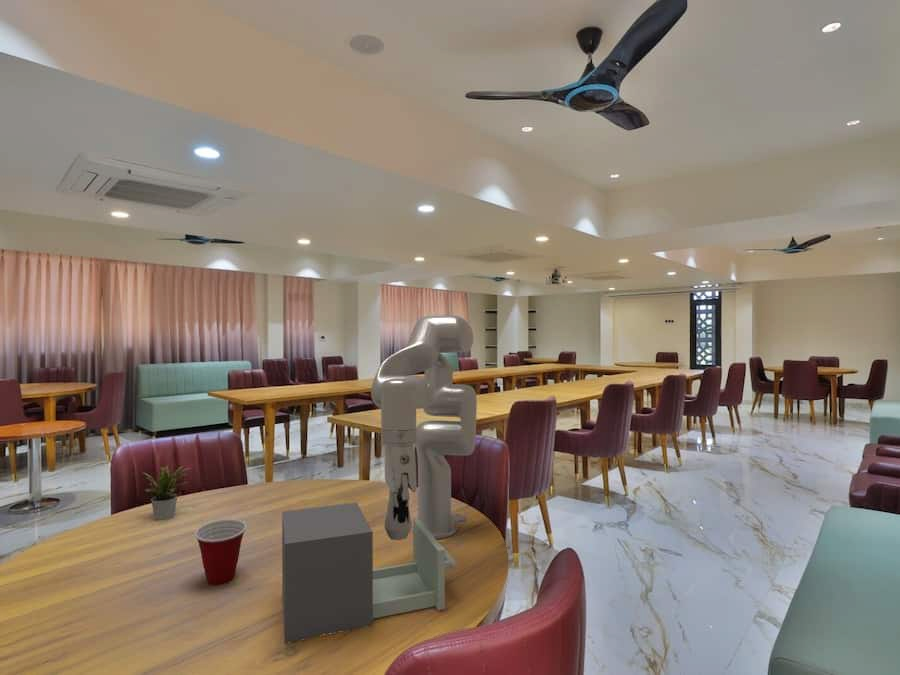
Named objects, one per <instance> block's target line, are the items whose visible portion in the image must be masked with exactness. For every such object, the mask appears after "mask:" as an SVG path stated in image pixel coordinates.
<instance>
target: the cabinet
mask: <svg viewBox="0 0 900 675" xmlns="http://www.w3.org/2000/svg"><path fill="white" fill-rule="evenodd" d="M281 515H282V516H281V518H282V519H281V520H282V521H281V522H282V524H281V525H282V526H281V527H282V528H281V531H282V532H281V534H282V535H281V537H282V538H281V539H282V540H281V541H282V542H281V544H282V548H281V549H282V552H281V553H282V554H281V556H282V557H281V559H282V560H281V562H282V563H281V565H282V568H281V570H282V573H281V574H282V576H281V578H282V579H281V582H282V583H281V584H282V588H281V590H282V592H281V593H282V594H281V595H282V596H281V597H282V599H281V600H282V612H283V613H282V615H283V636H284V637H283V638H284V639H285V640H284V644H285V643H287V644H289V643H288V642H292V643H294V642H293V641H296V642H300V641H299V640H301V641H303V640H302V639H306V640H309V639H308V638H311V639H313V638H312V637H316V636H320V635H323V634H329V633H334V632H339V631H345V632H347V631H346V630H349V631H353V630H352V629H354V630H358V629H357V628H359V629H362V628H361V627H364V628H366V627H365V626H369V627H372V626H371V625H373V621H374V619H373V569H374V568H373V566H374V565H373V561H374V560H373V558H374V557H373V549H374V548H373V540H374V539H373V538H374V537H373V536H374V534H373V533H374V532H373V530H372V528H371V527H370V524H369V522H368V521H367V519H366V517H365V515H364V513H363V511H362V510H361V508H360V506H359V504H358V502H350V503H342V504H335V505H326V506H317V507H309V508H300V509H291V510H289V509H288V510H283V511H282V514H281ZM316 638H317V637H316Z"/></svg>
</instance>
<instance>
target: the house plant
mask: <svg viewBox="0 0 900 675" xmlns="http://www.w3.org/2000/svg"><path fill="white" fill-rule="evenodd" d="M183 467H184V465H182V466H180V467H178V468H177V469H176V470H175V471H174V473H172V474H170V470H169V466H168V465H167V464H165V466H163V467H160V470H161V475H160V478H159V480H158V483H157V480H155V479H154V477H153V476H152V475H150V474H148V473H146V472H144V471H142V472H141V473H142V474H144V475H146V476H147V477H146V479H147V480H149V481H150V482H151V483H149V486H150V488H145V489H144V490H145V493H146V492H150V493H152V494H153V495H154V497H152V498H151V499H150V501H151V506H152V512H153V517H154V520H155V521H158V520H162V521H166V520H165V519H168V520H170V519H169V518H171V517H173V516H174V517H175V512H176V507H177V501H178V494H175V492H176V491H177V490H178V489H179V488H180V487H181V486H183V485H184V486H186V483H187V484H188V481H186V482H183V483H177V481H178V479H179V478H181V477H182V476H185V475H186V473H184V474H181V473H183V472H184V471H186V470H189V469H191V467H188V468H187V467H186V468H185V469H182V468H183ZM180 474H181V475H180ZM179 475H180V476H179ZM177 486H178V487H177ZM176 487H177V488H176ZM172 492H173V493H172ZM174 517H173V518H174ZM171 519H172V518H171Z"/></svg>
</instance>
